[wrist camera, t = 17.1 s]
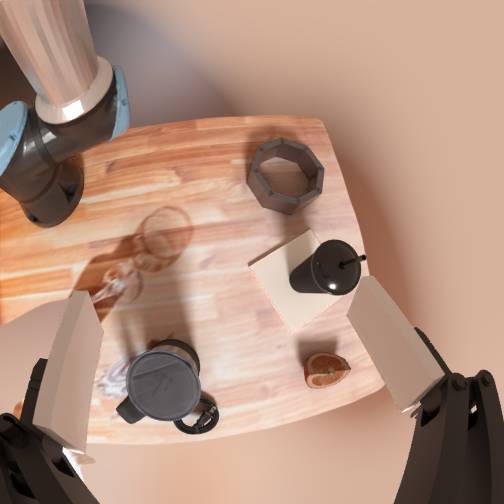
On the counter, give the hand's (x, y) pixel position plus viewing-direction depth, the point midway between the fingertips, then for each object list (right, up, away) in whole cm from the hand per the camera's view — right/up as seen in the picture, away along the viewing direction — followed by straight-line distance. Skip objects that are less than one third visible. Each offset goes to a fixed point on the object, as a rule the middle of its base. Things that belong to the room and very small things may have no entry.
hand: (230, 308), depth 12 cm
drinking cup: (+10, -2, +36) cm, 37 cm away
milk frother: (-11, -20, +29) cm, 37 cm away
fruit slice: (+13, -19, +34) cm, 41 cm away
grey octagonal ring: (+7, +17, +40) cm, 44 cm away
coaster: (+10, -3, +36) cm, 38 cm away
